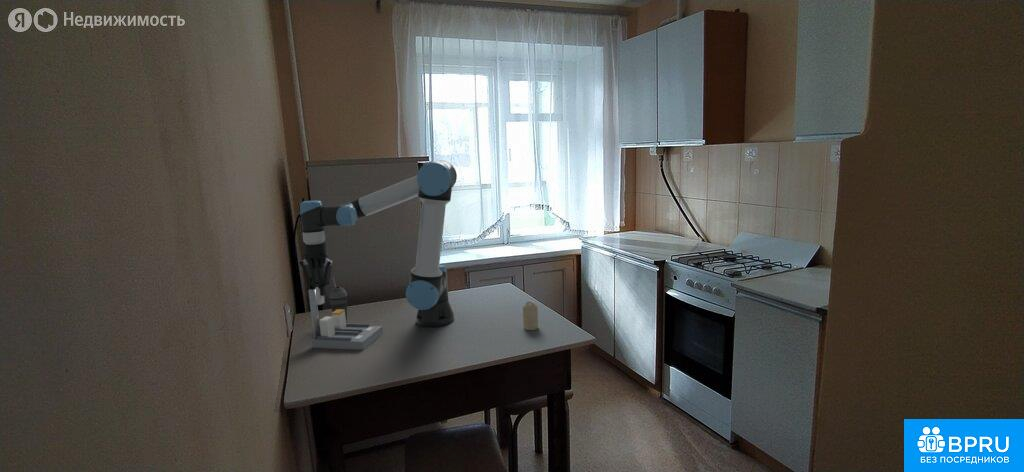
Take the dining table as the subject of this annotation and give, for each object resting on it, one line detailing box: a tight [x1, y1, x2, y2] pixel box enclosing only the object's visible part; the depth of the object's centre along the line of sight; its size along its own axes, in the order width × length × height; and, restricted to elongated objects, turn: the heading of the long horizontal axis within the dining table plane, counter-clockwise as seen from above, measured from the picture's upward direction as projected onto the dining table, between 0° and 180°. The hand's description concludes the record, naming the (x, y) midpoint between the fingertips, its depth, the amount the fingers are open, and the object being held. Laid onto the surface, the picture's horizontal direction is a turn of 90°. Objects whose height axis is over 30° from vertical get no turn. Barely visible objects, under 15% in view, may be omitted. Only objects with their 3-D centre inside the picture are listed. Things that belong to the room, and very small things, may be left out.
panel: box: [311, 322, 384, 351], centre depth 176 cm, size 20×15×4 cm
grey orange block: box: [331, 309, 346, 328], centre depth 181 cm, size 3×4×7 cm
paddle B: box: [319, 315, 335, 337], centre depth 173 cm, size 3×4×7 cm
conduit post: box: [308, 288, 321, 339], centre depth 171 cm, size 2×2×18 cm
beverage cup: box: [328, 276, 348, 323], centre depth 193 cm, size 7×7×20 cm
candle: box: [522, 301, 539, 331], centre depth 181 cm, size 6×6×10 cm
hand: (320, 303), depth 181 cm, fingers closed
